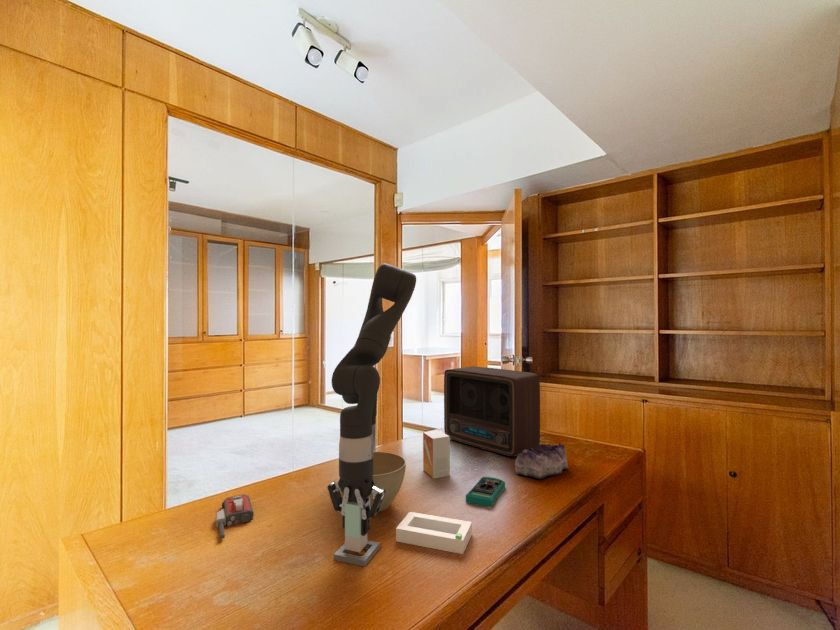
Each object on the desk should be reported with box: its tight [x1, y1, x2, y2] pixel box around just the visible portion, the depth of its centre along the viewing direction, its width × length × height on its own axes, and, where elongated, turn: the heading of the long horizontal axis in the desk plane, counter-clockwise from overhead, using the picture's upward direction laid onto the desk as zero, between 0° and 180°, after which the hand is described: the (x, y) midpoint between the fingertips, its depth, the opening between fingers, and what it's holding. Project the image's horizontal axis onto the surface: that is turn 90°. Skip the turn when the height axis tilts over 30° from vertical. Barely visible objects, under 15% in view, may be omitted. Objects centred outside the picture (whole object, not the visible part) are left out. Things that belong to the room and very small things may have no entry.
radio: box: [443, 365, 541, 458], centre depth 169 cm, size 36×18×30 cm, turn 43°
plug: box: [344, 501, 368, 553], centre depth 93 cm, size 4×4×10 cm
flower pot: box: [369, 451, 407, 513], centre depth 116 cm, size 18×18×12 cm
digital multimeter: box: [465, 476, 506, 508], centre depth 123 cm, size 8×15×3 cm, turn 154°
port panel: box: [395, 511, 473, 555], centre depth 100 cm, size 16×9×4 cm, turn 70°
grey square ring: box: [333, 539, 381, 567], centre depth 93 cm, size 7×7×1 cm
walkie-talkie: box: [215, 493, 254, 539], centre depth 109 cm, size 9×4×20 cm
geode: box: [514, 443, 569, 479], centre depth 141 cm, size 20×12×10 cm, turn 124°
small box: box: [422, 429, 451, 479], centre depth 140 cm, size 8×6×13 cm
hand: (356, 531), depth 93 cm, fingers closed on plug, 3 cm apart
